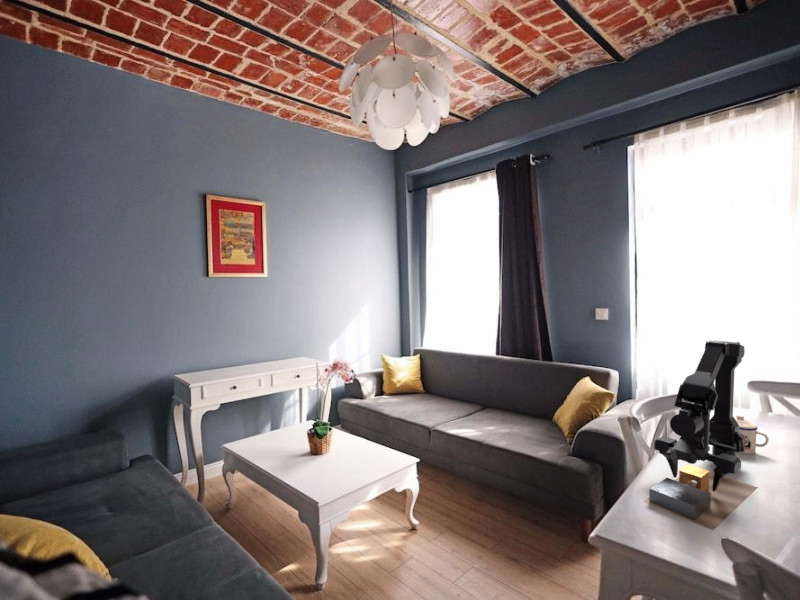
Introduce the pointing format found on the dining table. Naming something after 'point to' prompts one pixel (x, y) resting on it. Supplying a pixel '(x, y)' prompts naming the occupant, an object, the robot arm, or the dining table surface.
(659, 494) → the grey flat rectangular block
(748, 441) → the teacup with lid
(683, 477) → the block
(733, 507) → the walnut board
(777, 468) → the dining table surface
